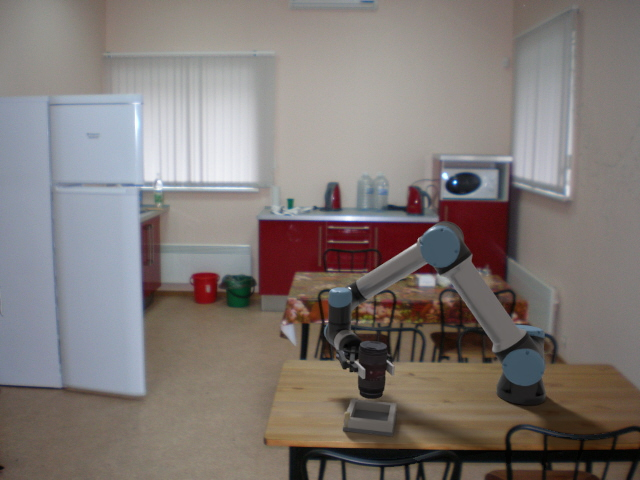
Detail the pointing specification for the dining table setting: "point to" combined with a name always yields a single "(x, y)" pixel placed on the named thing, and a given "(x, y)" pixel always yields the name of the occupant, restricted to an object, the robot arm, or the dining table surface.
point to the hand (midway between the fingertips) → (378, 372)
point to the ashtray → (370, 417)
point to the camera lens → (372, 369)
